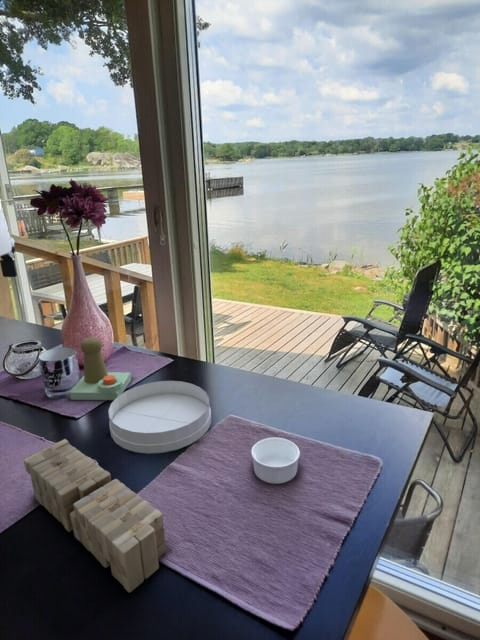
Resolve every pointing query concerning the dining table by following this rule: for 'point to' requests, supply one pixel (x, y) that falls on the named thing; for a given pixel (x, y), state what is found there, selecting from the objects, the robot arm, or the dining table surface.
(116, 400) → the dish
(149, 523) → the block tower
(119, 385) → the scale
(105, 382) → the button
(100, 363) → the brown rounded upright piece
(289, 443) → the ramekin
